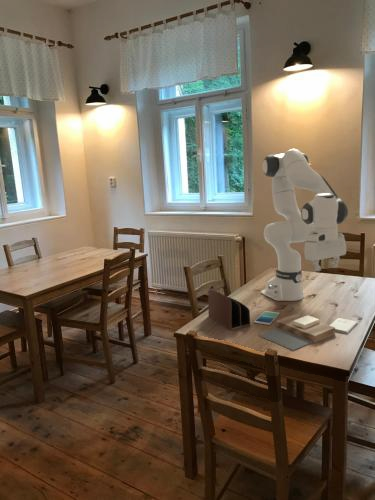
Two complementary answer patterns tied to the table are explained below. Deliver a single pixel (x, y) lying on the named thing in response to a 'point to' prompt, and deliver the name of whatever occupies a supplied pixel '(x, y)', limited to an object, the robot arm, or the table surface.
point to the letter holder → (228, 311)
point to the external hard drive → (343, 325)
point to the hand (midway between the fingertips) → (326, 269)
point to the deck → (306, 329)
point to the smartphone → (267, 318)
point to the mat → (285, 339)
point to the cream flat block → (306, 321)
